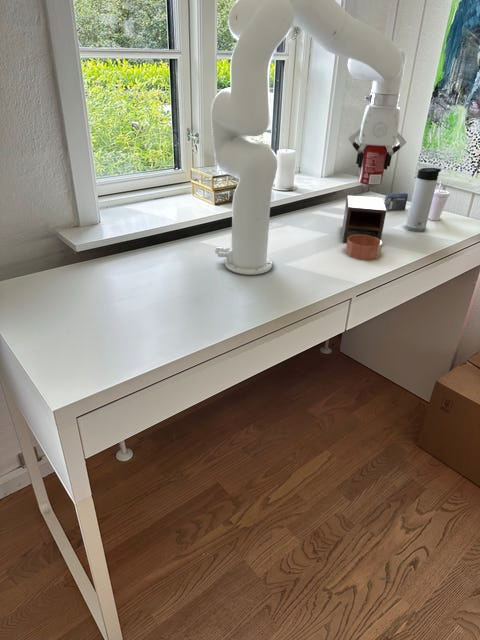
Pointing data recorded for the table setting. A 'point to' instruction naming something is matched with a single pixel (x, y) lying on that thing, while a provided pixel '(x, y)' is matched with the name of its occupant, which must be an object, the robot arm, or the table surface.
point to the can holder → (363, 247)
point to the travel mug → (422, 199)
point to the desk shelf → (364, 215)
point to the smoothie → (438, 203)
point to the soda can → (372, 165)
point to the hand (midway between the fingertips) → (372, 167)
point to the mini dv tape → (395, 201)
